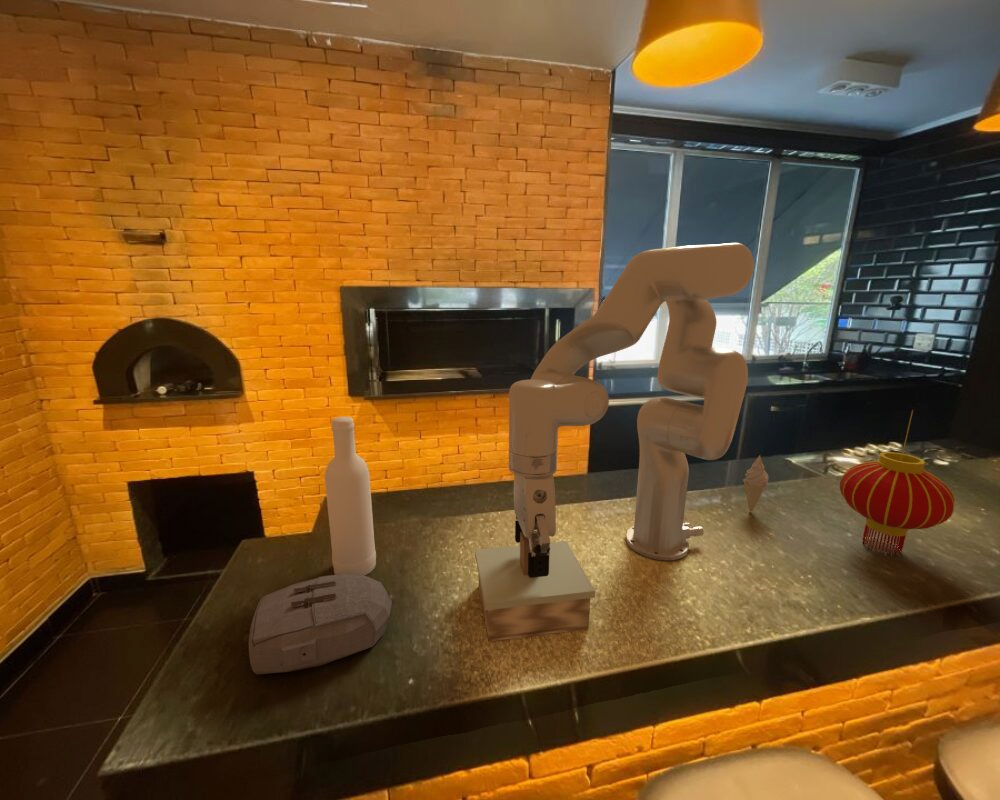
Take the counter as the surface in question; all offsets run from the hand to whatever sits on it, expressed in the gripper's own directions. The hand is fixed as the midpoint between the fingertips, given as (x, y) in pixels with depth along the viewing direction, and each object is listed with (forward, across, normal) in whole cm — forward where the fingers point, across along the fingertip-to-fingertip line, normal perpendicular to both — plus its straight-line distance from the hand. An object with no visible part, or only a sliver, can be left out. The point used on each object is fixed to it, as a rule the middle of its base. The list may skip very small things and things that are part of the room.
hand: (530, 557), depth 70 cm
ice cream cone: (+10, +23, -61) cm, 66 cm away
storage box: (+9, 0, 0) cm, 9 cm away
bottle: (+10, +16, +31) cm, 36 cm away
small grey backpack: (+10, -1, +32) cm, 34 cm away
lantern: (+10, +5, -77) cm, 78 cm away
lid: (+3, 0, 0) cm, 3 cm away
